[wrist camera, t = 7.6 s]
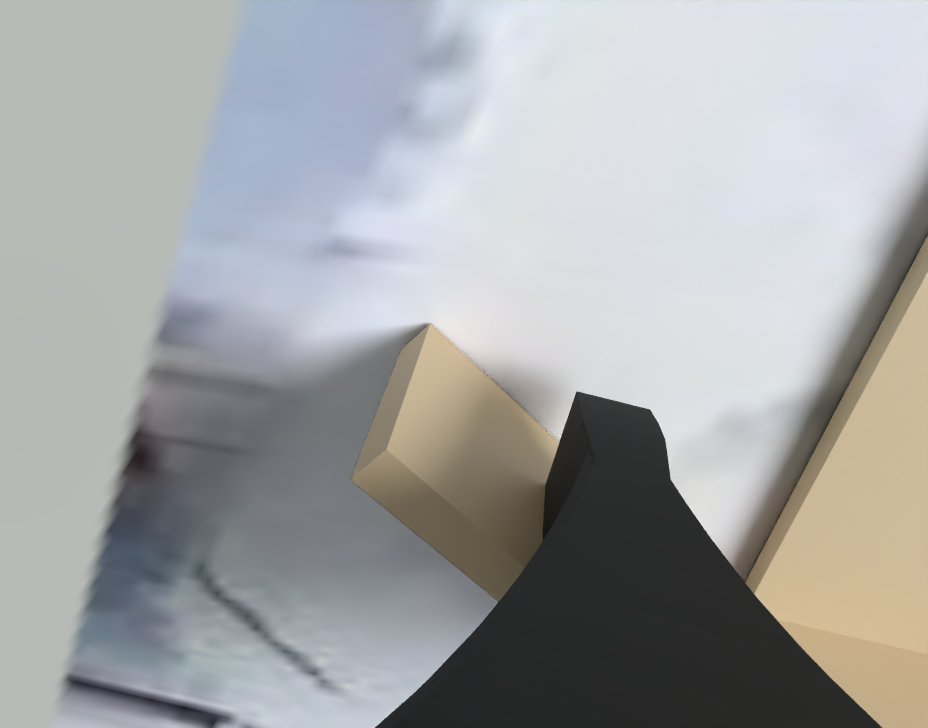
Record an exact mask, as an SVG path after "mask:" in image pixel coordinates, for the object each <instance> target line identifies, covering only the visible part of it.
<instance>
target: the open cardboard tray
mask: <svg viewBox="0 0 928 728" xmlns="http://www.w3.org/2000/svg"><path fill="white" fill-rule="evenodd" d="M745 583H746V585H747V586H748V587H749V588H750V590H751V591H752V592H753V593H754V594H755V596H756V597H757V598H758V599H759V600H760V602H761V603H762V604H763V605H764V606H765V607H766V608H767V609H768V611H769V612H770V613H771V614H772V615H773V616H774V617H775V618H776V619H777V621H778V622H779V623H780V624H781V625H782V626H783V627H784V628H785V630H786V631H787V632H788V633H789V634H790V635H791V636H792V637H793V639H794V640H795V641H796V642H797V643H798V644H799V645H800V646H801V647H802V649H803V650H804V651H805V652H806V653H807V654H808V655H809V656H810V657H811V658H812V659H813V660H814V661H815V662H816V663H817V664H818V665H819V666H820V667H821V668H822V669H823V670H824V671H825V672H826V673H827V674H828V675H829V676H830V678H831V679H833V680H834V681H835V682H836V683H837V684H838V685H839V686H840V687H841V688H842V689H843V690H844V691H845V692H846V693H847V694H848V695H849V696H850V697H851V698H852V699H853V700H854V701H855V702H856V703H857V704H858V705H859V706H860V707H862V708H863V709H864V710H865V711H866V712H867V713H868V714H869V715H870V716H871V717H872V718H873V719H874V720H875V721H876V722H877V723H878V724H879V725H880V726H881V727H882V728H928V235H927V237H926V239H925V241H924V243H923V245H922V247H921V249H920V251H919V253H918V254H917V256H916V258H915V260H914V262H913V264H912V266H911V268H910V270H909V272H908V273H907V275H906V277H905V279H904V281H903V283H902V285H901V287H900V289H899V291H898V292H897V294H896V296H895V298H894V300H893V302H892V304H891V306H890V308H889V310H888V311H887V313H886V315H885V317H884V319H883V321H882V323H881V325H880V327H879V329H878V331H877V332H876V334H875V336H874V338H873V340H872V342H871V344H870V346H869V348H868V350H867V351H866V353H865V355H864V357H863V359H862V361H861V363H860V365H859V367H858V369H857V370H856V372H855V374H854V376H853V378H852V380H851V382H850V384H849V386H848V388H847V389H846V391H845V393H844V395H843V397H842V399H841V401H840V403H839V405H838V407H837V409H836V410H835V412H834V414H833V416H832V418H831V420H830V422H829V424H828V426H827V428H826V429H825V431H824V433H823V435H822V437H821V439H820V441H819V443H818V445H817V447H816V448H815V450H814V452H813V454H812V456H811V458H810V460H809V462H808V464H807V466H806V468H805V469H804V471H803V473H802V475H801V477H800V479H799V481H798V483H797V485H796V487H795V488H794V490H793V492H792V494H791V496H790V498H789V500H788V502H787V504H786V506H785V507H784V509H783V511H782V513H781V515H780V517H779V519H778V521H777V523H776V525H775V526H774V528H773V530H772V532H771V534H770V536H769V538H768V540H767V542H766V544H765V546H764V547H763V549H762V551H761V553H760V555H759V557H758V559H757V561H756V563H755V565H754V566H753V568H752V570H751V572H750V574H749V576H748V578H747V580H746V582H745Z"/></svg>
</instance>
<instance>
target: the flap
mask: <svg viewBox="0 0 928 728" xmlns="http://www.w3.org/2000/svg"><path fill="white" fill-rule="evenodd" d="M558 445H559V442H558V441H557V440H556V439H555V438H554V437H553V436H552V435H551V434H549V433H548V432H547V431H546V430H545V429H544V428H543V427H542V426H541V425H540V424H539V423H538V422H536V421H535V420H534V419H533V418H532V417H531V416H530V415H529V414H528V413H527V412H526V411H525V410H524V409H522V408H521V407H520V406H519V405H518V404H517V403H516V402H515V401H514V400H513V399H512V398H511V397H510V396H508V395H507V394H506V393H505V392H504V391H503V390H502V389H501V388H500V387H499V386H498V385H497V384H495V383H494V382H493V381H492V380H491V379H490V378H489V377H488V376H487V375H486V374H485V373H484V372H483V371H481V370H480V369H479V368H478V367H477V366H476V365H475V364H474V363H473V362H472V361H471V360H470V359H469V358H467V357H466V356H465V355H464V354H463V353H462V352H461V351H460V350H459V349H458V348H457V347H456V346H455V345H453V344H452V343H451V342H450V341H449V340H448V339H447V338H446V337H445V336H444V335H443V334H442V333H440V332H439V331H438V330H437V329H436V328H435V327H434V326H433V325H432V324H431V323H430V324H429V325H428V326H427V327H426V328H424V329H423V330H422V331H421V332H420V333H419V334H418V335H417V336H415V337H414V338H413V339H412V340H411V341H410V342H409V343H408V344H406V345H405V346H404V347H403V348H402V349H401V351H400V354H399V356H398V359H397V361H396V364H395V366H394V369H393V371H392V374H391V377H390V379H389V382H388V384H387V387H386V389H385V392H384V394H383V397H382V399H381V402H380V404H379V407H378V409H377V412H376V414H375V417H374V420H373V422H372V425H371V427H370V430H369V432H368V435H367V437H366V440H365V442H364V445H363V447H362V450H361V452H360V455H359V457H358V460H357V462H356V465H355V468H354V470H353V473H352V475H351V478H350V480H351V481H352V482H353V483H355V484H356V485H357V486H358V487H359V488H361V489H362V490H363V491H364V492H366V493H367V494H368V495H369V496H370V497H372V498H373V499H374V500H375V501H376V502H378V503H379V504H380V505H381V506H383V507H384V508H385V509H386V510H387V511H389V512H390V513H391V514H392V515H394V516H395V517H396V518H397V519H398V520H400V521H401V522H402V523H403V524H405V525H406V526H407V527H408V528H409V529H411V530H412V531H413V532H414V533H415V534H417V535H418V536H419V537H420V538H422V539H423V540H424V541H425V542H426V543H428V544H429V545H430V546H431V547H433V548H434V549H435V550H436V551H437V552H439V553H440V554H441V555H442V556H443V557H445V558H446V559H447V560H448V561H450V562H451V563H452V564H453V565H454V566H456V567H457V568H458V569H459V570H461V571H462V572H463V573H464V574H465V575H467V576H468V577H469V578H470V579H471V580H473V581H474V582H475V583H476V584H478V585H479V586H480V587H481V588H482V589H484V590H485V591H486V592H487V593H489V594H490V595H491V596H492V597H493V598H495V599H496V600H497V601H498V602H499V601H500V600H501V598H502V597H503V596H504V595H505V593H506V592H507V591H508V590H509V588H510V587H511V586H512V584H513V583H514V582H515V581H516V579H517V578H518V577H519V575H520V574H521V572H522V571H523V570H524V568H525V567H526V565H527V564H528V562H529V561H530V560H531V558H532V557H533V555H534V554H535V552H536V551H537V549H538V548H539V546H540V545H541V543H542V542H543V535H542V534H543V517H544V501H545V484H546V481H547V478H548V475H549V472H550V469H551V466H552V463H553V460H554V457H555V454H556V451H557V448H558Z"/></svg>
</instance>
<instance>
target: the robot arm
mask: <svg viewBox="0 0 928 728" xmlns="http://www.w3.org/2000/svg"><path fill="white" fill-rule="evenodd" d="M542 535H543V542H542V543H541V545H540V546H539V548H538V549H537V551H536V552H535V554H534V555H533V557H532V558H531V560H530V561H529V562H528V564H527V565H526V567H525V568H524V570H523V571H522V572H521V574H520V575H519V577H518V578H517V579H516V581H515V582H514V583H513V584H512V586H511V587H510V588H509V590H508V591H507V592H506V593H505V595H504V596H503V597H502V598H501V600H500V601H499V602H498V604H497V605H496V606H495V607H494V609H493V610H492V611H491V612H490V613H489V615H488V616H487V617H486V618H485V619H484V621H483V622H482V623H481V624H480V625H479V626H478V628H477V629H476V630H475V631H474V632H473V633H472V634H471V635H470V636H469V637H468V638H467V639H466V640H465V642H464V643H463V644H462V645H461V646H460V647H459V648H458V649H457V650H456V651H455V652H454V653H453V654H452V655H451V656H450V657H449V658H448V659H447V660H446V661H445V663H444V664H443V665H442V666H441V667H440V668H439V669H438V670H437V671H436V672H435V673H434V674H433V675H432V676H431V677H430V678H429V679H428V680H427V681H426V682H425V683H424V684H423V685H422V686H421V687H420V688H419V689H418V690H417V691H416V692H415V693H414V694H413V695H411V696H410V697H409V698H408V699H407V700H406V701H405V702H404V703H402V704H401V705H400V706H399V707H398V708H397V709H396V710H395V711H393V712H392V713H391V714H390V715H389V716H388V717H387V718H385V719H384V720H383V721H382V722H381V723H380V724H379V725H378V726H376V727H375V728H882V727H881V726H880V725H879V724H878V723H877V722H876V721H875V720H874V719H873V718H872V717H871V716H870V715H869V714H868V713H867V712H866V711H865V710H864V709H863V708H862V707H860V706H859V705H858V704H857V703H856V702H855V701H854V700H853V699H852V698H851V697H850V696H849V695H848V694H847V693H846V692H845V691H844V690H843V689H842V688H841V687H840V686H839V685H838V684H837V683H836V682H835V681H834V680H833V679H831V678H830V676H829V675H828V674H827V673H826V672H825V671H824V670H823V669H822V668H821V667H820V666H819V665H818V664H817V663H816V662H815V661H814V660H813V659H812V658H811V657H810V656H809V655H808V654H807V653H806V652H805V651H804V650H803V649H802V647H801V646H800V645H799V644H798V643H797V642H796V641H795V640H794V639H793V637H792V636H791V635H790V634H789V633H788V632H787V631H786V630H785V628H784V627H783V626H782V625H781V624H780V623H779V622H778V621H777V619H776V618H775V617H774V616H773V615H772V614H771V613H770V612H769V611H768V609H767V608H766V607H765V606H764V605H763V604H762V603H761V602H760V600H759V599H758V598H757V597H756V596H755V594H754V593H753V592H752V591H751V590H750V588H749V587H748V586H747V585H746V583H745V582H744V581H743V580H742V579H741V577H740V576H739V575H738V574H737V572H736V571H735V570H734V568H733V567H732V566H731V564H730V563H729V562H728V560H727V559H726V558H725V556H724V555H723V554H722V552H721V551H720V550H719V548H718V547H717V546H716V545H715V543H714V542H713V541H712V539H711V538H710V537H709V535H708V534H707V532H706V531H705V530H704V528H703V527H702V525H701V524H700V523H699V521H698V520H697V518H696V517H695V515H694V514H693V513H692V511H691V510H690V508H689V507H688V505H687V504H686V502H685V501H684V499H683V498H682V496H681V495H680V493H679V492H678V490H677V489H676V487H675V486H674V484H673V482H672V481H671V479H670V471H669V464H668V456H667V449H666V443H665V438H664V436H663V433H662V431H661V429H660V426H659V424H658V422H657V420H656V419H655V417H654V415H653V414H652V412H651V410H649V409H645V408H641V407H637V406H633V405H629V404H625V403H621V402H617V401H613V400H609V399H605V398H601V397H597V396H593V395H589V394H585V393H581V392H576V395H575V398H574V401H573V404H572V407H571V410H570V413H569V416H568V419H567V422H566V425H565V428H564V430H563V433H562V436H561V439H560V442H559V445H558V448H557V451H556V454H555V457H554V460H553V463H552V466H551V469H550V472H549V475H548V478H547V481H546V484H545V501H544V517H543V534H542Z"/></svg>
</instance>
